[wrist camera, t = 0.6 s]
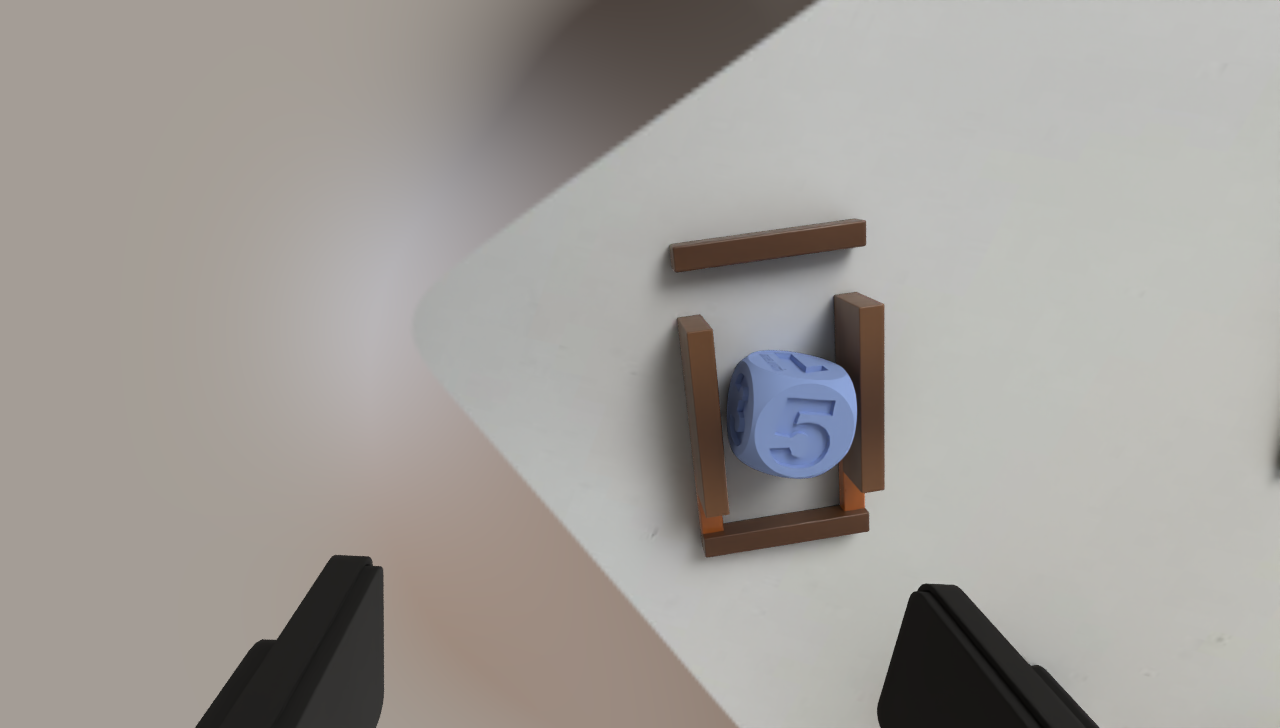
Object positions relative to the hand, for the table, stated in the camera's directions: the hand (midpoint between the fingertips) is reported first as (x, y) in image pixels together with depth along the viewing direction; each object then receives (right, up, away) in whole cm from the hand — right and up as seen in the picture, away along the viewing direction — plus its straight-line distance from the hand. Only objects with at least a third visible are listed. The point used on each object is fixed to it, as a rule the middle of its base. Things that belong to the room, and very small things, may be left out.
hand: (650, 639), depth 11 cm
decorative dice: (+6, +4, +16) cm, 17 cm away
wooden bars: (+6, +3, +16) cm, 17 cm away
